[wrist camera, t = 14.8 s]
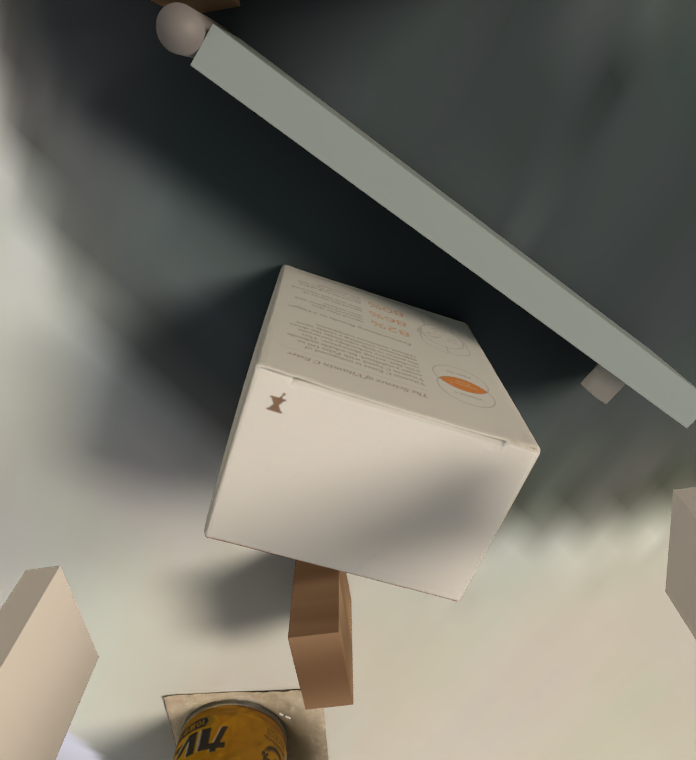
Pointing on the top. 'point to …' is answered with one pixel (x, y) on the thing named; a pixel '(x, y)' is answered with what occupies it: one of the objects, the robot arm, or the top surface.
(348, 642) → the brown upright pieces
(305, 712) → the condiment
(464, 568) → the small box
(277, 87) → the door
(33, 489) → the top surface
